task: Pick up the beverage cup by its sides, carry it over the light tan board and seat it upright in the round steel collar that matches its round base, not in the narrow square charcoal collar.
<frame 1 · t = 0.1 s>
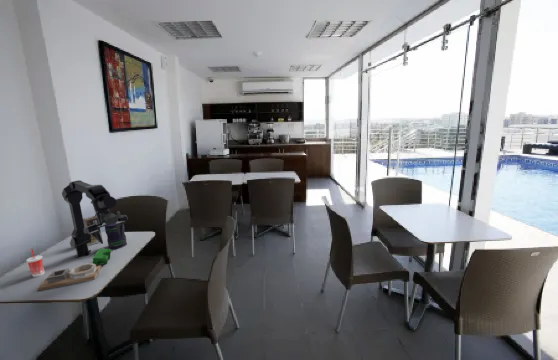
hand: (111, 239, 137), 15 cm above the table, tool pointing down, fingers open, 9 cm apart
clamp: (103, 262, 147), on the table
storage jar: (118, 246, 166), on the table
socket board: (72, 278, 132), on the table
coffee box: (93, 242, 173), on the table
beverage cup: (38, 274, 138), on the table
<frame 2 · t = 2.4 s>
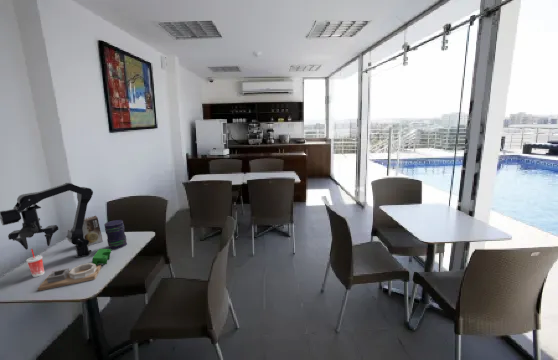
hand: (38, 247, 140), 12 cm above the table, tool pointing down, fingers open, 9 cm apart
nothing on the table moved.
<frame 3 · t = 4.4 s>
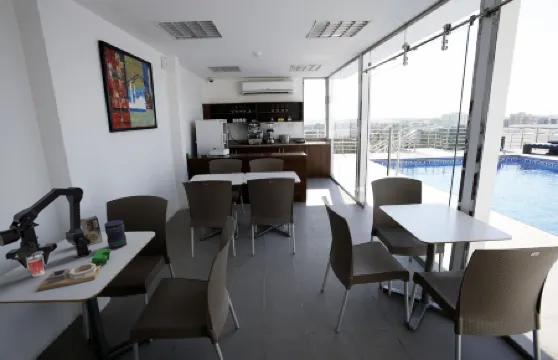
hand: (36, 266, 137), 5 cm above the table, tool pointing down, fingers closed on beverage cup, 8 cm apart
beverage cup: (38, 274, 138), on the table, touching gripper
everything else where it was.
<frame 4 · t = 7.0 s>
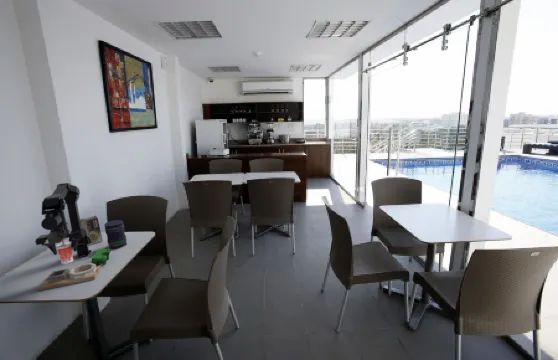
hand: (65, 253, 132), 12 cm above the table, tool pointing down, fingers closed on beverage cup, 8 cm apart
beverage cup: (67, 262, 133), point 7 cm above the table, touching gripper
everything else where it was.
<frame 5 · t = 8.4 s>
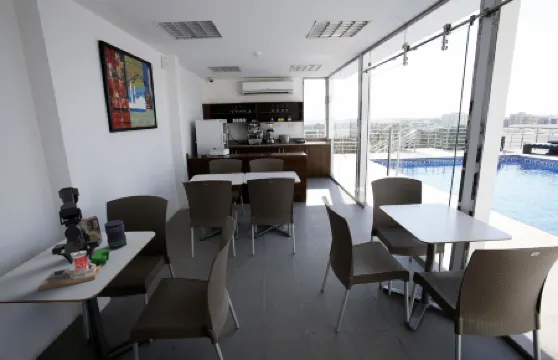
hand: (81, 262, 133), 7 cm above the table, tool pointing down, fingers closed on beverage cup, 8 cm apart
beverage cup: (83, 270, 134), point 3 cm above the table, touching gripper
everything else where it was.
when the fingers open (7 cm above the table, at t = 9.5 s): beverage cup moves 1 cm, resting on socket board.
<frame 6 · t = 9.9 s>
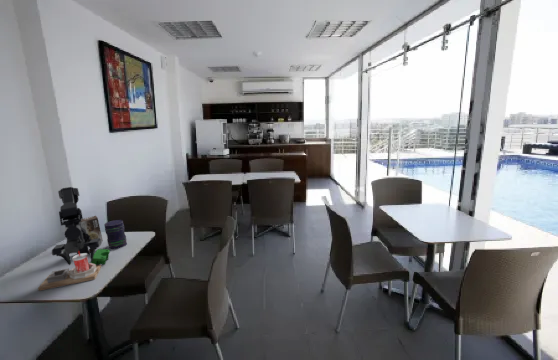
hand: (81, 262, 133), 7 cm above the table, tool pointing down, fingers open, 9 cm apart
beverage cup: (83, 273, 134), point 1 cm above the table, touching gripper, socket board
everything else where it was.
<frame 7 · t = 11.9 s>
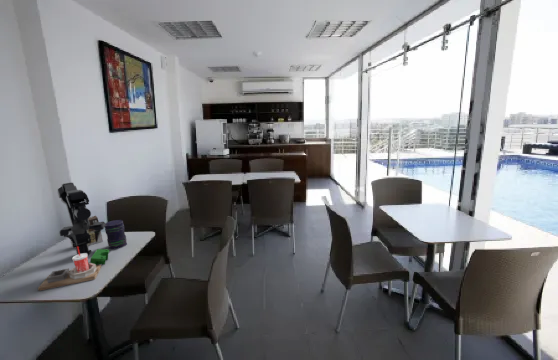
hand: (86, 243, 142), 12 cm above the table, tool pointing down, fingers open, 9 cm apart
beverage cup: (83, 273, 134), point 1 cm above the table, touching socket board
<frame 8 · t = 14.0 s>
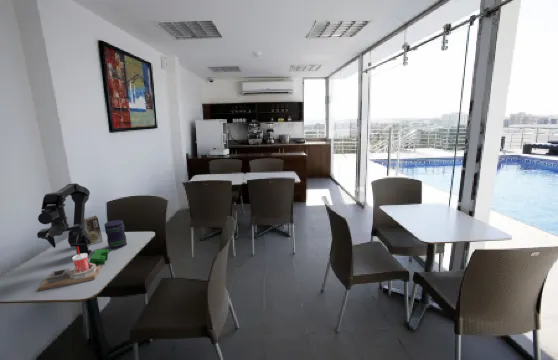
hand: (65, 245, 141), 12 cm above the table, tool pointing down, fingers open, 9 cm apart
at the end: beverage cup 0.3 cm from the target spot on the socket board, point 1.3 cm above the socket board's base; beverage cup tilted 0°; the gripper is holding nothing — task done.
